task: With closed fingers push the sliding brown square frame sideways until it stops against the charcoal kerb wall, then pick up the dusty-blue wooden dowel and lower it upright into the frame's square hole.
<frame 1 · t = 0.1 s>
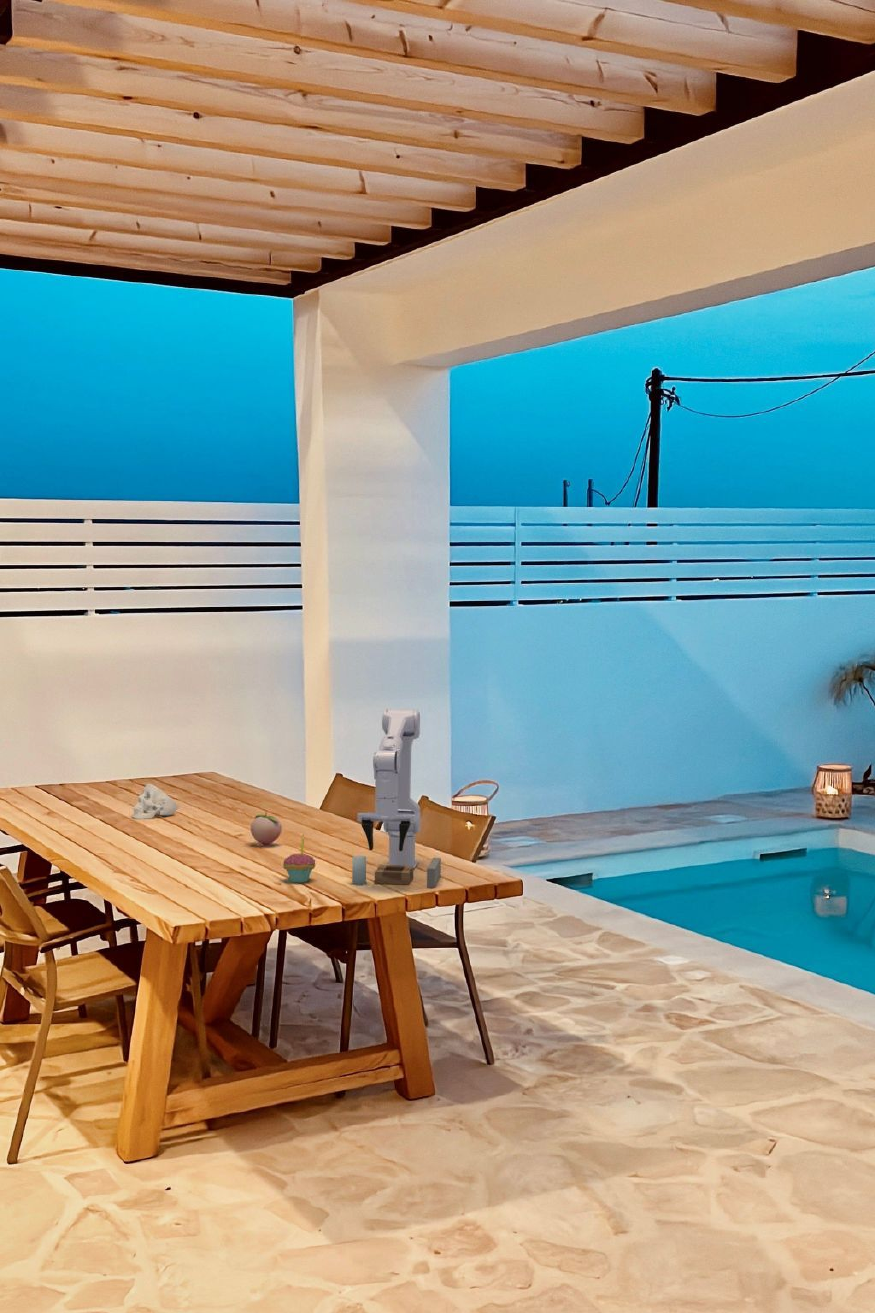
hand: (386, 850, 339), 10 cm above the table, tool pointing down, fingers open, 7 cm apart
skull bowl: (155, 817, 441), on the table
brown square frame: (394, 874, 349), point 2 cm above the table, slide at 0.0 cm
dowel: (359, 883, 345), on the table
decorative fruit: (265, 846, 393), on the table
wall: (433, 882, 347), on the table
cupcake: (299, 881, 347), on the table
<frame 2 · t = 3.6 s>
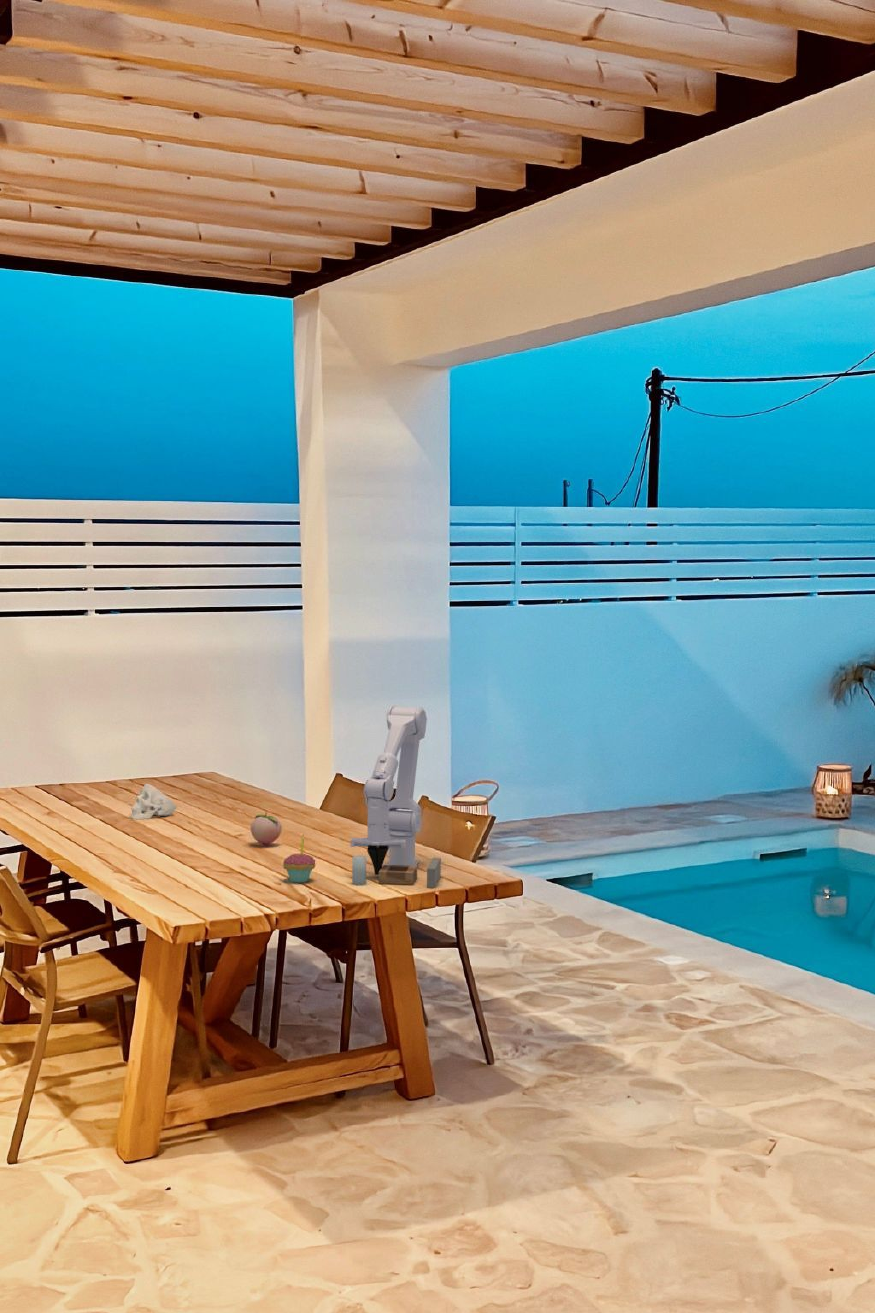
hand: (377, 874, 352), 1 cm above the table, tool pointing down, fingers closed
brown square frame: (398, 874, 348), point 2 cm above the table, slide at 1.0 cm, touching gripper
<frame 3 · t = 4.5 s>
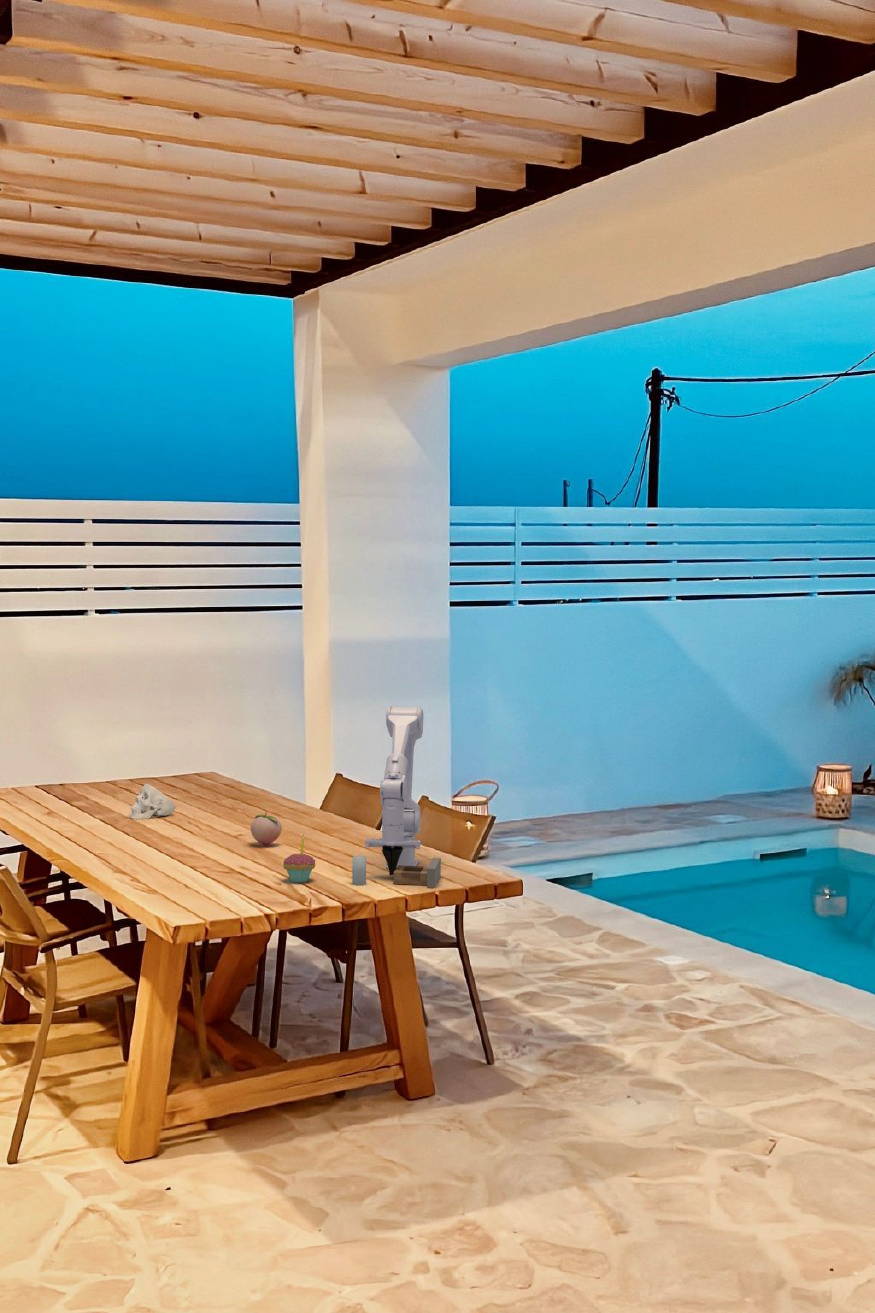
hand: (392, 874, 351), 1 cm above the table, tool pointing down, fingers closed
brown square frame: (412, 875, 348), point 2 cm above the table, slide at 4.9 cm, touching gripper
everything else where it was.
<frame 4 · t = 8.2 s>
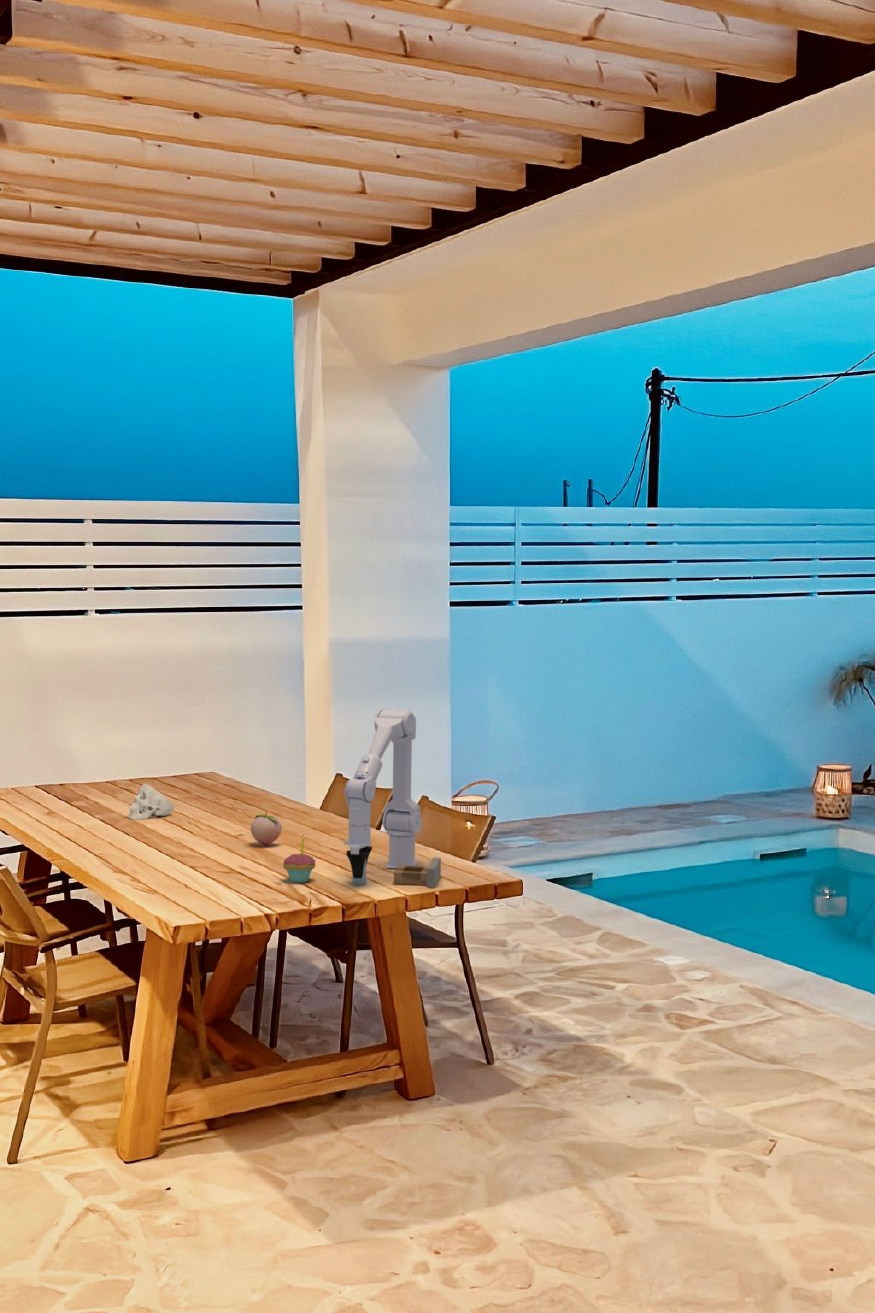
hand: (359, 876, 344), 2 cm above the table, tool pointing down, fingers closed on dowel, 4 cm apart
brown square frame: (413, 875, 348), point 2 cm above the table, slide at 5.0 cm, touching wall
dowel: (359, 883, 345), on the table, touching gripper
when the fingers open (4 cm above the table, at t = 11.7 s): dowel drops 2 cm, resting in brown square frame.
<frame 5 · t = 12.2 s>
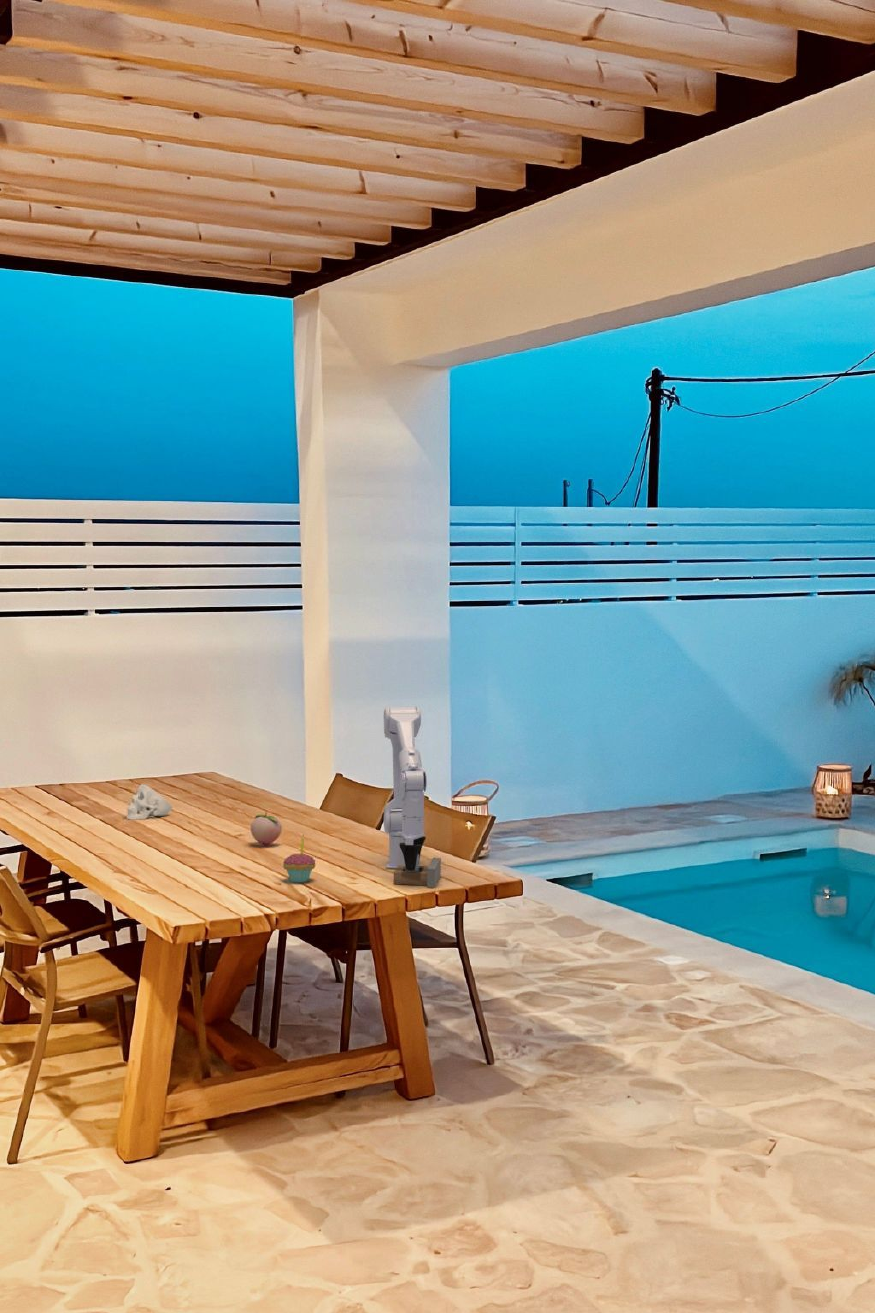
hand: (412, 867, 348), 4 cm above the table, tool pointing down, fingers open, 7 cm apart
dowel: (412, 881, 348), resting in brown square frame
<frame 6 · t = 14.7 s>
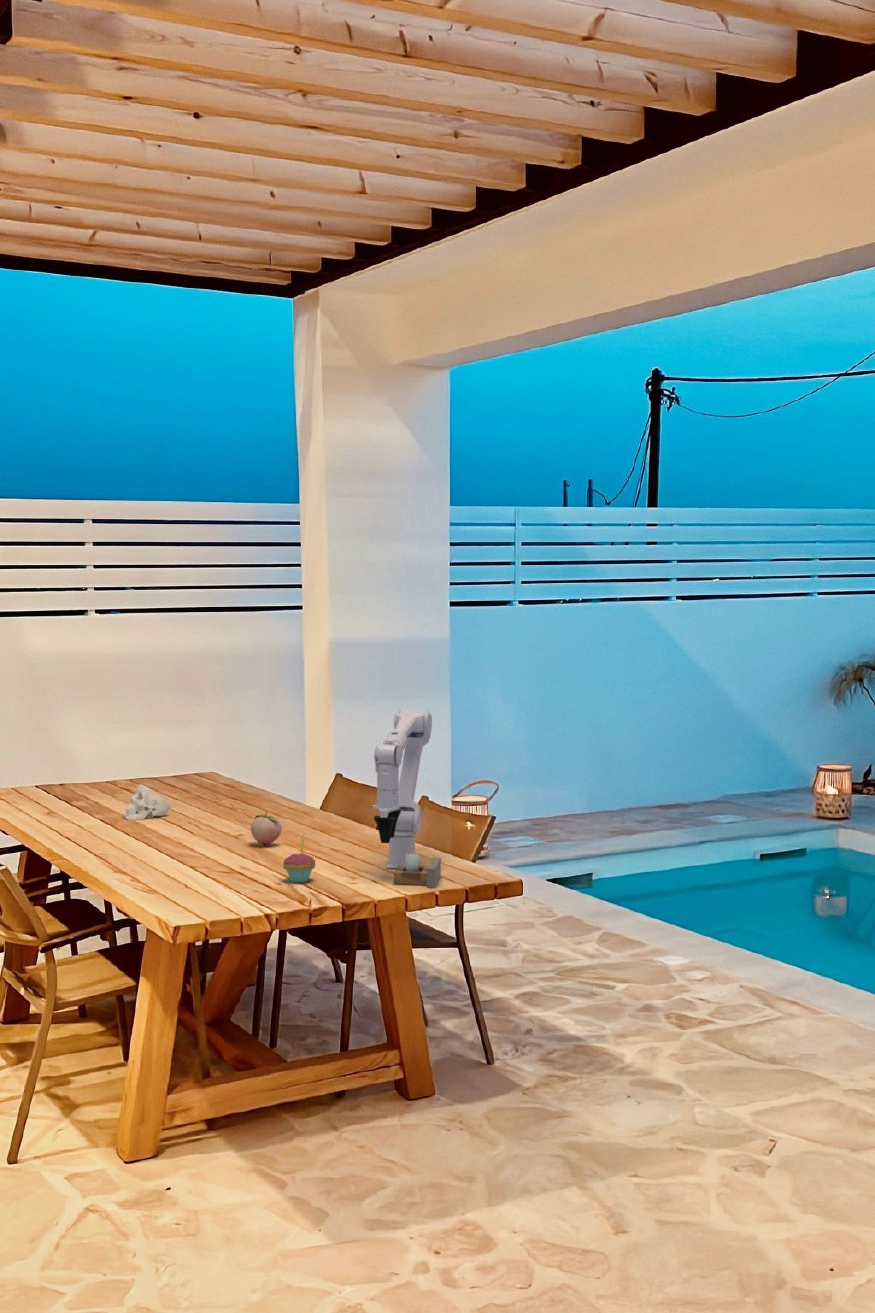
hand: (387, 840, 352), 10 cm above the table, tool pointing down, fingers open, 7 cm apart
at the end: dowel 0.2 cm off-centre on the brown square frame, point 0.0 cm above the brown square frame's base; dowel tilted 0°; brown square frame slide at 5.0 cm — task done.
